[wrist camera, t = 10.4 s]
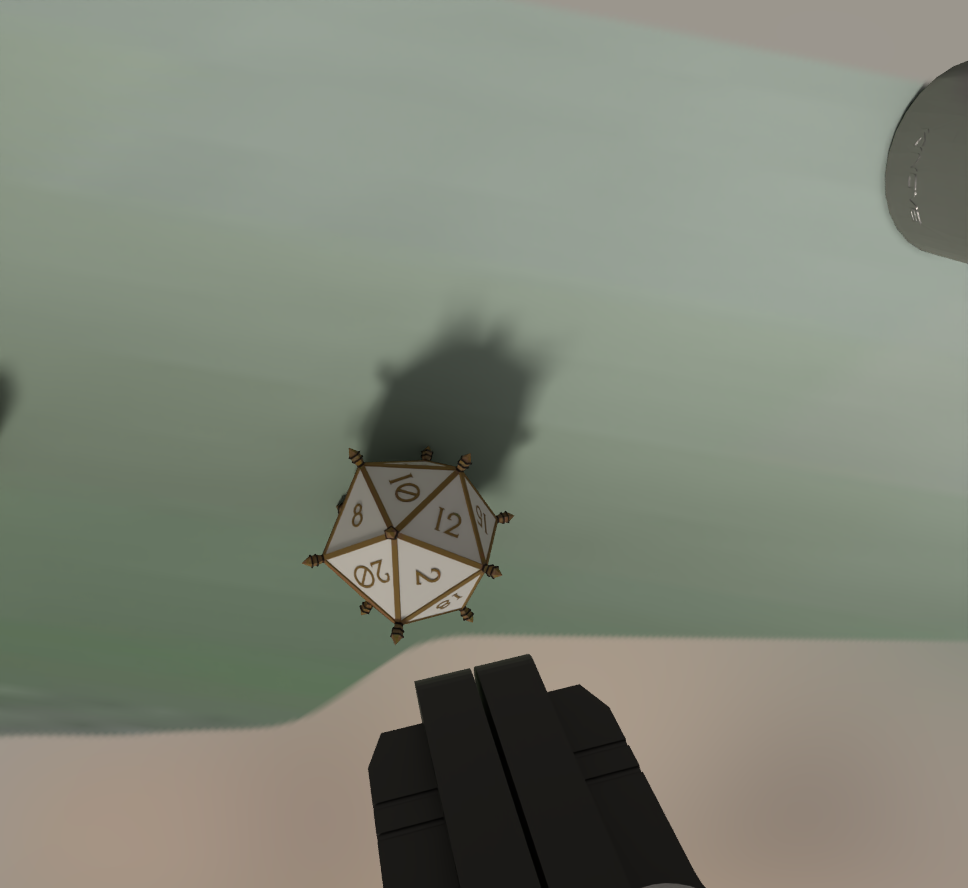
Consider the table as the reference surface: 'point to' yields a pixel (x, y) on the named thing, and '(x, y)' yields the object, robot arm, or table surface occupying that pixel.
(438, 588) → the game die
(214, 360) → the table surface
